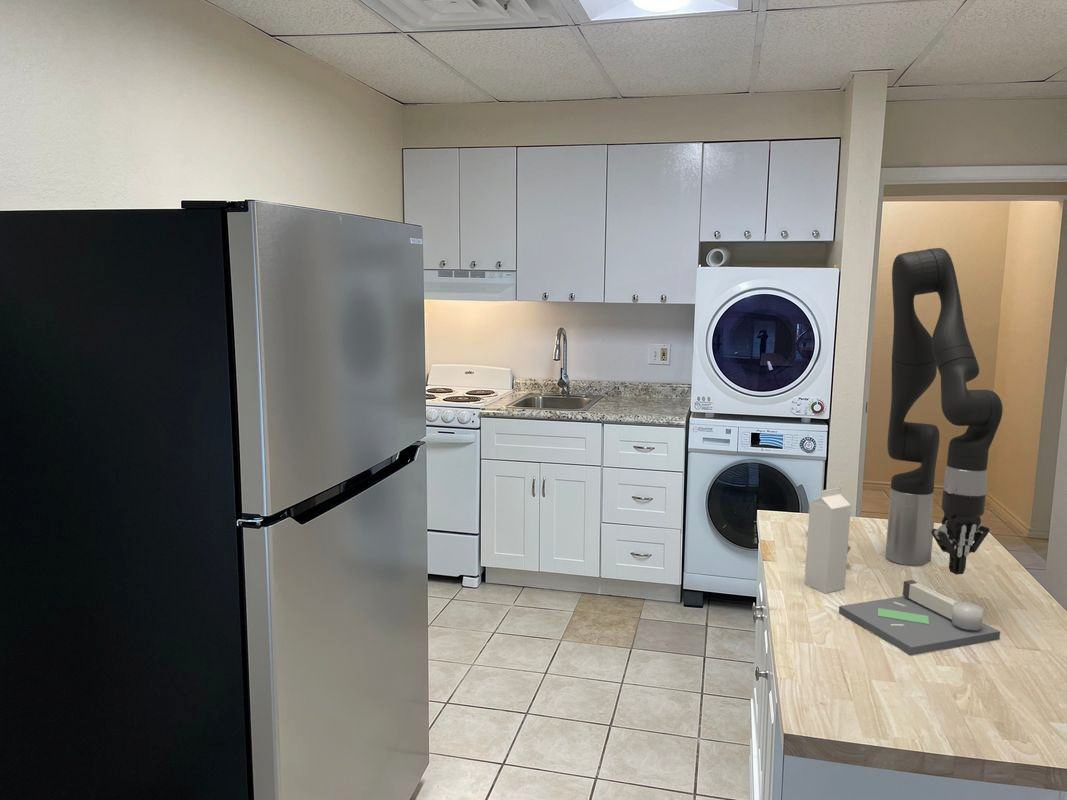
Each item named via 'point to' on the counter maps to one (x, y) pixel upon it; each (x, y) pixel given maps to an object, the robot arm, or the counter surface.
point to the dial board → (913, 625)
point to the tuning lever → (945, 606)
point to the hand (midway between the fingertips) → (956, 572)
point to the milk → (827, 541)
